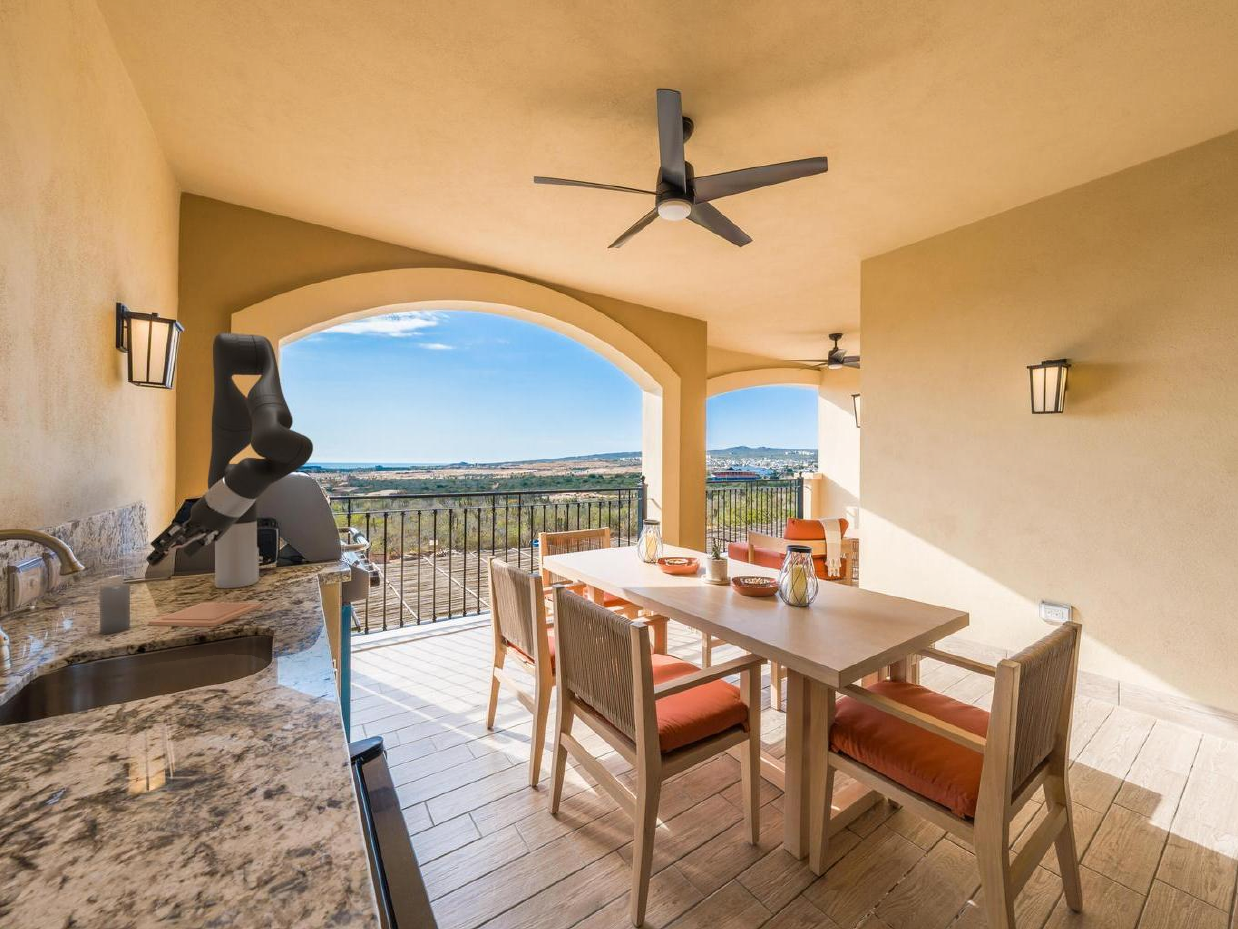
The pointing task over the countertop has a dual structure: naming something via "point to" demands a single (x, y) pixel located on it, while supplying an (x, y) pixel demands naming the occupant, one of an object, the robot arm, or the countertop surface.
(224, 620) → the coaster
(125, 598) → the grey tall block
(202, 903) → the countertop surface
